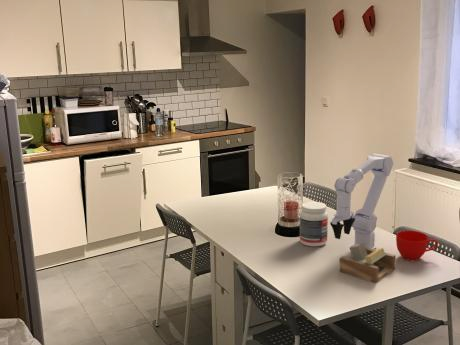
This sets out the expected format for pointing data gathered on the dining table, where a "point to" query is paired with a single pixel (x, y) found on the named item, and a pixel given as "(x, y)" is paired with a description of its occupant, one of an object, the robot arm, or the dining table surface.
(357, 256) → the granite block
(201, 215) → the dining table surface
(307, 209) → the supplement tub
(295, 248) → the dining table surface
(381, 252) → the trapdoor
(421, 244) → the ceramic cup
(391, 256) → the frame
